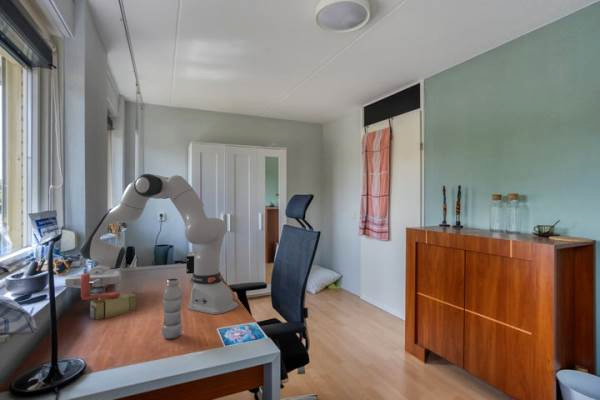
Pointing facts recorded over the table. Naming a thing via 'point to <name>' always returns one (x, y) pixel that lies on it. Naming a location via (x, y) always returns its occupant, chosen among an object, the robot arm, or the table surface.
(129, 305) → the olive yellow box
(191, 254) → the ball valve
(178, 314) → the plastic bottle
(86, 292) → the lever
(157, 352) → the table surface
